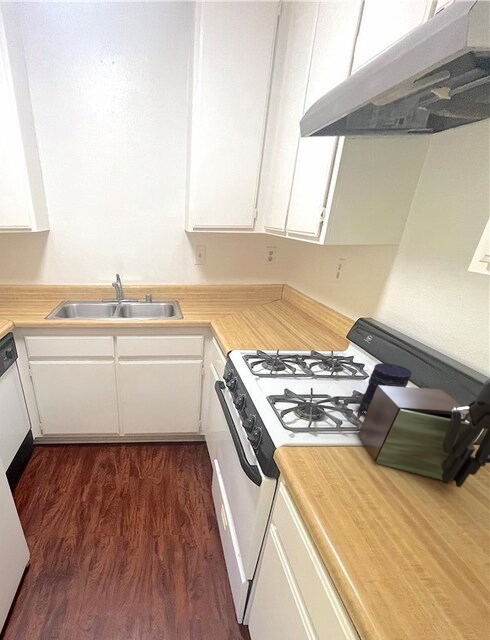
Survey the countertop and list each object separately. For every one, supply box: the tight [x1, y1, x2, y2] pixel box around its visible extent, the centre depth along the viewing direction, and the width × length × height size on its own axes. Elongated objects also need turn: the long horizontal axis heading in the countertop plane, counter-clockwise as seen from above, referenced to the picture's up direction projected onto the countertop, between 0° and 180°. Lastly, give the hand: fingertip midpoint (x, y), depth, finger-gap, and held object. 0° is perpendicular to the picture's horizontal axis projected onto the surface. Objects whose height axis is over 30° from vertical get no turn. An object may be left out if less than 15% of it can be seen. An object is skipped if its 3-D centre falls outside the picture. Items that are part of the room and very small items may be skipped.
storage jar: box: [357, 362, 413, 418], centre depth 106 cm, size 10×10×15 cm
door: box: [375, 409, 482, 483], centre depth 79 cm, size 7×16×16 cm, turn 65°
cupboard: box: [357, 385, 470, 462], centre depth 89 cm, size 12×16×16 cm
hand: (451, 481), depth 76 cm, fingers closed on door, 2 cm apart
